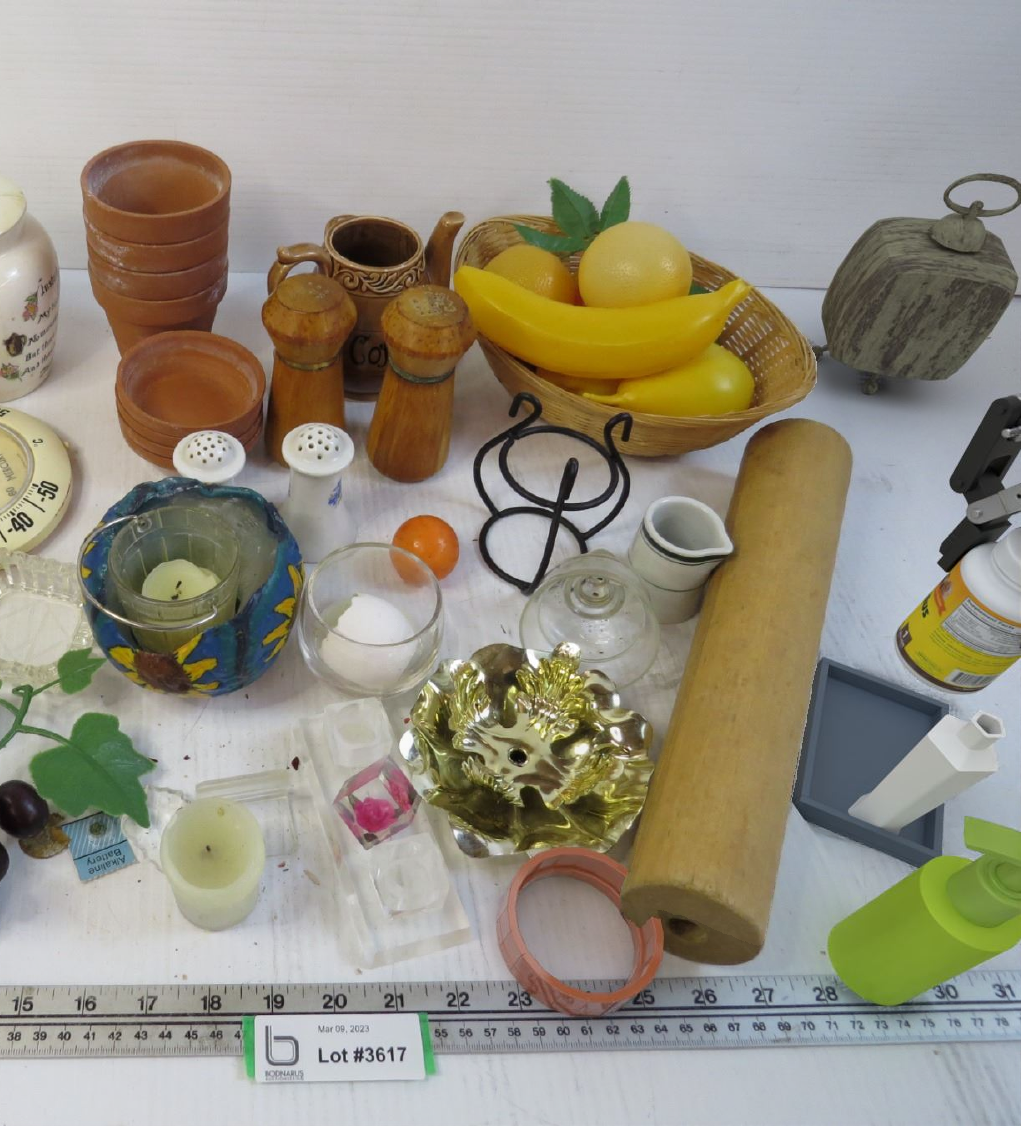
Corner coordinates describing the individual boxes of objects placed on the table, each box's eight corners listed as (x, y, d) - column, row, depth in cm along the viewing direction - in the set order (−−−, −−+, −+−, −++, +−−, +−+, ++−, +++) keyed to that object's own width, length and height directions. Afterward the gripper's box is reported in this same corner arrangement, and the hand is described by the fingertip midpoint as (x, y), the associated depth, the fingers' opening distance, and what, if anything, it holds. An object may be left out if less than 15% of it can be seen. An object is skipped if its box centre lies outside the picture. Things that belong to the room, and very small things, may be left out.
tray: (925, 871, 73) (941, 860, 71) (787, 812, 76) (800, 800, 74) (935, 717, 82) (949, 704, 80) (811, 669, 84) (823, 656, 83)
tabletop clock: (920, 368, 112) (1066, 164, 93) (936, 418, 107) (1095, 213, 87) (793, 346, 114) (909, 142, 94) (802, 395, 108) (928, 189, 89)
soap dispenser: (807, 905, 71) (970, 782, 55) (906, 948, 69) (1103, 834, 54) (797, 979, 67) (969, 871, 52) (901, 1027, 66) (1111, 929, 50)
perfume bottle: (833, 827, 75) (946, 732, 63) (847, 785, 77) (958, 686, 65) (894, 860, 73) (1021, 769, 62) (907, 817, 75) (1031, 721, 64)
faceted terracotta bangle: (667, 996, 66) (694, 975, 62) (533, 1043, 64) (552, 1024, 60) (592, 857, 73) (613, 829, 69) (468, 895, 70) (482, 869, 66)
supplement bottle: (921, 609, 61) (1025, 499, 53) (1004, 671, 58) (1128, 565, 50) (869, 648, 59) (970, 540, 51) (953, 715, 56) (1073, 611, 48)
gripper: (1472, 469, 38) (1150, 694, 51) (1158, 265, 46) (952, 503, 59) (1339, 508, 36) (1041, 731, 49) (1038, 289, 44) (853, 528, 58)
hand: (993, 605), depth 54 cm, fingers closed on supplement bottle, 5 cm apart
